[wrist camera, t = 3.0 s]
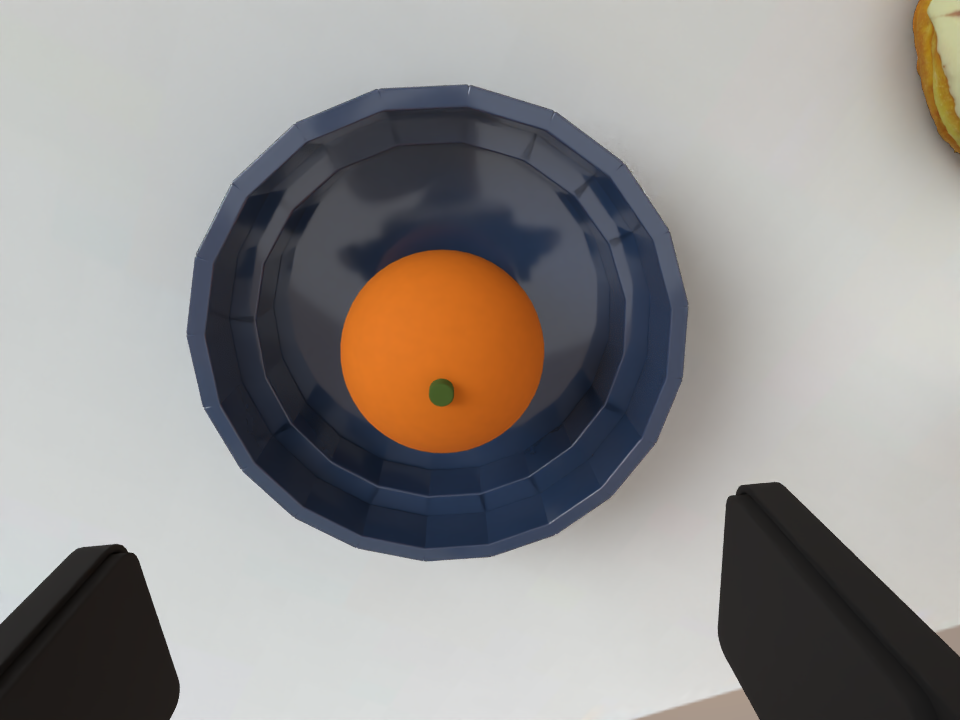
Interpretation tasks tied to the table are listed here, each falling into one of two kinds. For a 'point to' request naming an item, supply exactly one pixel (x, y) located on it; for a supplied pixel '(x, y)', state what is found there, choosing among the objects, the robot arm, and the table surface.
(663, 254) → the blue bowl
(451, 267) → the orange
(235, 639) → the table surface
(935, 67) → the decorated donut
